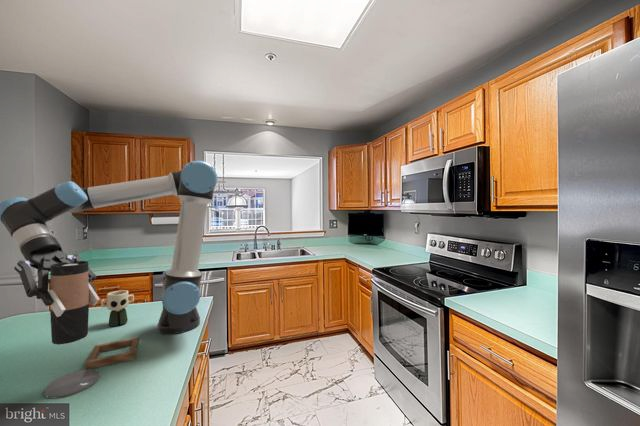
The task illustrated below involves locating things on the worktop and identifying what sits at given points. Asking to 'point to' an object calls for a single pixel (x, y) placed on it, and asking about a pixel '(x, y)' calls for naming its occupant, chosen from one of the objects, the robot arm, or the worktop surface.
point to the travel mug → (70, 301)
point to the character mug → (117, 306)
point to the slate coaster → (72, 383)
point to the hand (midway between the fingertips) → (79, 307)
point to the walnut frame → (98, 362)
